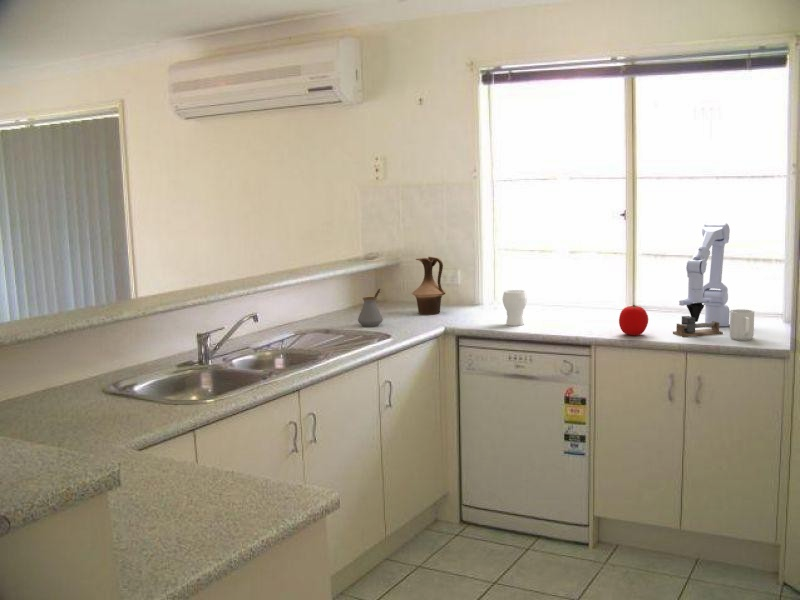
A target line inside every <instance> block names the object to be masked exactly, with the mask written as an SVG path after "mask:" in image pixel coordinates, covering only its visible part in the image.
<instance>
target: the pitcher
mask: <svg viewBox="0 0 800 600" xmlns="http://www.w3.org/2000/svg"><path fill="white" fill-rule="evenodd" d="M415 260H416V261H419V262H420V263H421V264H422V266H423V272H424V274H423V279H422V283H421V284H420V285H419V286H418V287H417V288H416V289H414V291H412V292H411V294H412V295H413V296H414V297H415V298H416V304H417V311H418V314H419V315H428V316H429V315H437V314H441V304H442V303H441V302H442V297H443V296H444V295H446V294H447V291H446V290H444V289H443V287H442V284H441V282H442V281H441V278H442V274H443V267H444V264H443V261H442V259H441V258H439V257H434V256H428V257H419V258H416V259H415ZM437 263H438V273H437V283H436V281H435V280H434V277H433V268H434V267H435V266H436V264H437Z"/></svg>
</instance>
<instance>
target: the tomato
mask: <svg viewBox="0 0 800 600" xmlns="http://www.w3.org/2000/svg"><path fill="white" fill-rule="evenodd" d="M648 324H649V315H648V313H647V310H645V309H644V308H643V307H641V306H638V305H635V304H632V305H628V306H627V307H624V308H623V309H621V311H620V313H619V317H618V325H619V328H620V330H621V331H622V333H623V334H626V335H628V336H640V335H642V334H643V333H644V332H645V331H646V329H647V326H648Z"/></svg>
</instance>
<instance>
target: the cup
mask: <svg viewBox="0 0 800 600" xmlns="http://www.w3.org/2000/svg"><path fill="white" fill-rule="evenodd" d="M527 300H528V297H527V292H526V290H522V289H508V290H505V291H503V295H502V303H503V306H504V309H505V311H506V315H507V317H506V324H505V325H506V326H510V327H511V326H512V327H513V326H514V327H516V326H517V327H518V326H519V327H520V326H523V325H524V318H523V316H524V315H523V314H524V309H525V307H526V305H527V303H528V302H527Z"/></svg>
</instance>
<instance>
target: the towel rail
mask: <svg viewBox="0 0 800 600" xmlns="http://www.w3.org/2000/svg"><path fill="white" fill-rule="evenodd" d="M698 328H704V329H698ZM684 329H687V324H683V325H682V323H676V331H672V334H673V335H676V336H679V337H681V336H682V338H687V337H688V336H690V337H704V336H713V335H714V336H715V335H723V334H724V332H723V331H721V330H720V326H719V322H715V321H712V322H711V323H705V322H698V323H697V322H696V323H695V333H687V332H684Z"/></svg>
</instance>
